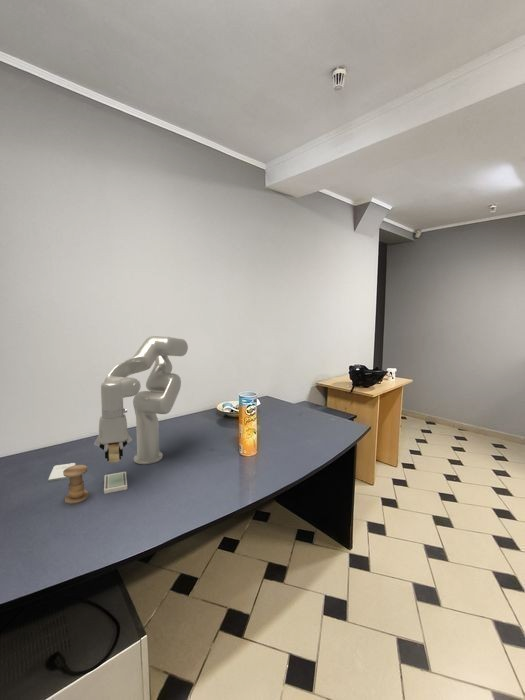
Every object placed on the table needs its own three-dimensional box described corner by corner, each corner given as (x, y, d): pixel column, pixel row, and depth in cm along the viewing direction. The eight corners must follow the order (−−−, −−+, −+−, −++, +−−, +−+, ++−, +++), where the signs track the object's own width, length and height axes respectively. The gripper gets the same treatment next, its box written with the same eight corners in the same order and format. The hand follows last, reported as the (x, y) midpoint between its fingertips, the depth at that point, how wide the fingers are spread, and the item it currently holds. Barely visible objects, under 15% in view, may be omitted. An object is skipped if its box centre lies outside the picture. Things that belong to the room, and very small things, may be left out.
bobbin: (66, 494, 124) (64, 466, 122) (89, 490, 127) (88, 463, 125) (63, 505, 117) (61, 476, 115) (88, 500, 120) (86, 472, 119)
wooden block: (109, 459, 131) (108, 441, 130) (119, 457, 132) (118, 440, 131) (108, 463, 127) (108, 445, 127) (119, 461, 129) (118, 444, 128)
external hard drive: (48, 483, 132) (54, 469, 144) (71, 479, 135) (75, 465, 147) (47, 479, 132) (53, 465, 143) (71, 475, 135) (75, 462, 146)
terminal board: (104, 478, 135) (104, 474, 135) (126, 474, 139) (125, 471, 138) (104, 493, 125) (104, 489, 124) (127, 489, 128) (127, 485, 128)
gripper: (135, 408, 135) (136, 451, 137) (88, 412, 128) (90, 458, 130) (136, 413, 128) (137, 459, 130) (87, 418, 121) (89, 466, 123)
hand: (114, 458), depth 130 cm, fingers closed on wooden block, 3 cm apart
